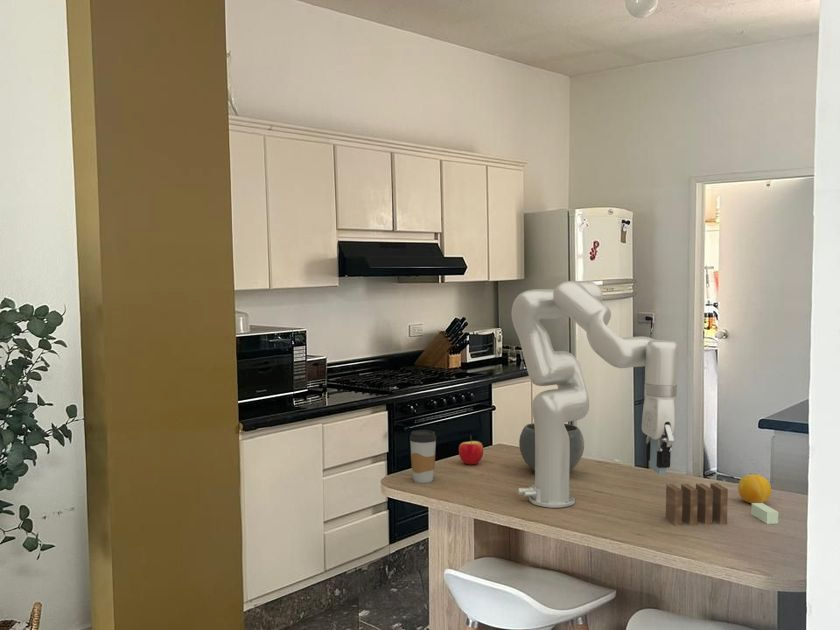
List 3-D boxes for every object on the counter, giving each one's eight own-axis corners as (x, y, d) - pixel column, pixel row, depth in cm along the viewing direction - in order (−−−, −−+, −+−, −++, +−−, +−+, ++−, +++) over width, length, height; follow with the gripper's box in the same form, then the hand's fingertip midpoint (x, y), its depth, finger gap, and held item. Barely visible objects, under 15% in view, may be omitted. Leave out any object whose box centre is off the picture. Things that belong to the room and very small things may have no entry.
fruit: (731, 500, 226) (731, 472, 225) (752, 497, 229) (753, 469, 228) (755, 509, 218) (756, 480, 217) (777, 505, 221) (778, 477, 220)
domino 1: (658, 473, 193) (660, 437, 192) (649, 467, 199) (650, 431, 198) (665, 473, 193) (667, 437, 192) (656, 467, 199) (657, 431, 198)
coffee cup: (441, 479, 249) (441, 431, 248) (427, 485, 242) (427, 436, 241) (418, 475, 253) (418, 428, 252) (404, 481, 246) (404, 433, 245)
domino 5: (720, 524, 205) (720, 489, 204) (709, 516, 211) (710, 483, 210) (727, 523, 205) (727, 489, 204) (716, 516, 211) (717, 483, 210)
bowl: (589, 481, 247) (590, 432, 246) (523, 480, 247) (523, 432, 246) (577, 465, 267) (578, 420, 266) (516, 465, 267) (516, 420, 266)
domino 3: (690, 524, 204) (690, 490, 204) (680, 517, 210) (681, 483, 210) (696, 524, 204) (697, 490, 204) (687, 517, 210) (687, 483, 210)
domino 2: (674, 525, 204) (675, 490, 203) (665, 518, 210) (666, 484, 209) (681, 525, 204) (682, 490, 203) (672, 517, 210) (672, 484, 209)
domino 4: (705, 524, 204) (705, 489, 204) (695, 517, 210) (695, 483, 210) (712, 524, 205) (712, 489, 204) (701, 517, 211) (702, 483, 210)
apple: (457, 466, 265) (457, 436, 265) (460, 460, 274) (460, 431, 273) (482, 467, 264) (482, 437, 263) (484, 461, 272) (484, 432, 272)
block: (766, 523, 205) (767, 512, 205) (751, 514, 213) (751, 503, 213) (778, 523, 205) (778, 512, 205) (762, 514, 213) (762, 503, 213)
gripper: (633, 385, 203) (630, 455, 204) (659, 397, 185) (656, 473, 187) (661, 385, 203) (659, 454, 204) (690, 397, 186) (687, 473, 187)
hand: (657, 463), depth 196 cm, fingers closed on domino 1, 6 cm apart
